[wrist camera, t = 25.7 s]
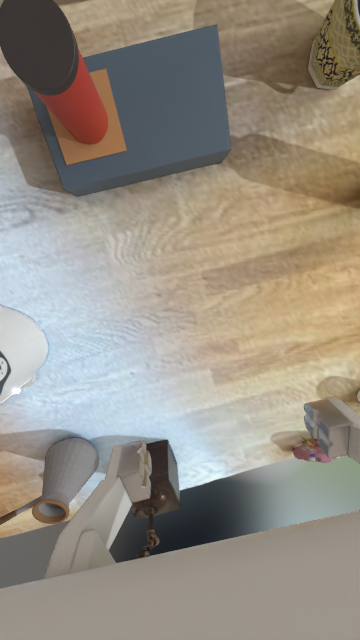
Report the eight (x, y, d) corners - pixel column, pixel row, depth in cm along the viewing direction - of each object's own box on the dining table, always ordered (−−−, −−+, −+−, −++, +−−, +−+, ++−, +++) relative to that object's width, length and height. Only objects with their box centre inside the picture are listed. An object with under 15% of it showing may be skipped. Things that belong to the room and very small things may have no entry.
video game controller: (325, 433, 57) (346, 445, 50) (328, 451, 56) (350, 466, 50) (289, 437, 57) (305, 450, 50) (291, 456, 56) (308, 471, 49)
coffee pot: (93, 426, 49) (64, 500, 35) (108, 461, 53) (88, 540, 39) (1, 444, 49) (-64, 525, 35) (23, 478, 53) (-28, 562, 39)
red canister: (73, 150, 27) (18, 96, 17) (55, 95, 26) (-19, -3, 15) (115, 140, 27) (85, 80, 17) (100, 84, 26) (57, -22, 15)
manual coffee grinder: (124, 449, 52) (104, 548, 35) (168, 438, 52) (170, 533, 35) (143, 490, 58) (134, 593, 41) (183, 480, 57) (191, 580, 41)
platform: (77, 196, 34) (63, 189, 29) (44, 99, 30) (20, 71, 25) (222, 162, 33) (232, 148, 29) (209, 58, 29) (217, 21, 24)
